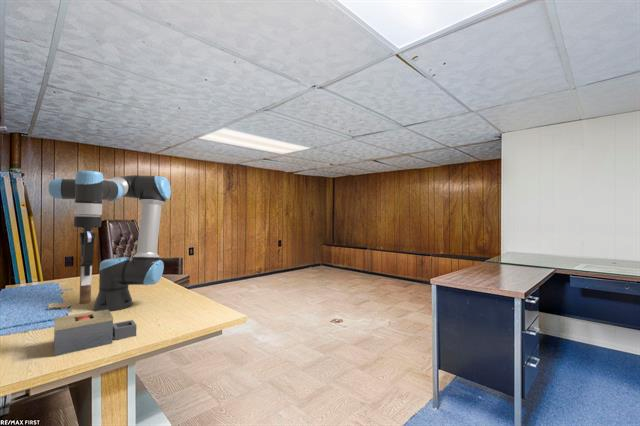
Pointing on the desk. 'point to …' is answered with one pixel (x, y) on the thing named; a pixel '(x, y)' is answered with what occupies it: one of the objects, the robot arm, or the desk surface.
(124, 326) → the holder
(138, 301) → the desk surface
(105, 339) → the hollow box
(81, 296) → the brown rounded rod
